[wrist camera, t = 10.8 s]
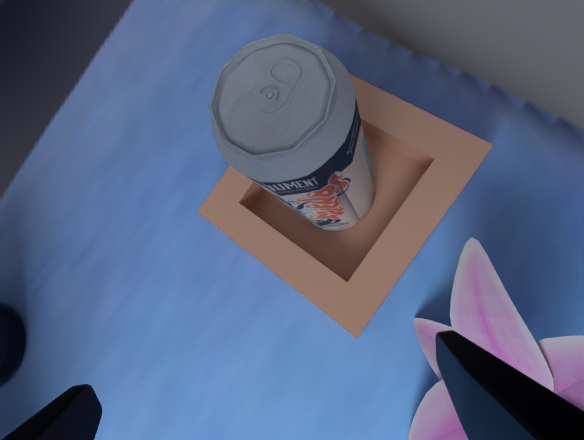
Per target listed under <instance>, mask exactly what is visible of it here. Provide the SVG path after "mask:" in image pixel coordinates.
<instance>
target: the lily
mask: <svg viewBox="0 0 584 440" xmlns="http://www.w3.org/2000/svg"><path fill="white" fill-rule="evenodd" d="M450 319H451V326H452V327H449V326H447V325H444V324H441V323H438V322H435V321H431V320H427V319H423V318H414V319H413V320H414V324H413V327H414V330H415V333H416V336H417V339H418V341H419V343H420V345H421V348H422V350H423V352H424V354H425V356H426V358H427V360H428V362H429V364H430V366H431V367H432V369H433V371H434V372H435V374H436V375H437V377H438V379H439V380H440V381H439V382H437V383H436V384H435V385H434V386H433V387H432V388H431V389H430V390H429V391H428V392H427V393H426V395H425V396H424V398H423V400H422V401H421V403H420V405H419V407H418V409H417V411H416V413H415V416H414V418H413V421H412V424H411V427H410V430H409V436H408V440H468V438H467V436H466V434H465V432H464V430H463V427H462V425H461V423H460V420H459V418H458V415H457V413H456V410H455V408H454V405H453V403H452V400H451V398H450V395H449V393H448V390H447V388H446V385H445V383H444V380H443V378H442V375H441V373H440V370H439V368H438V365H437V361H436V341H435V336H436V333H437V332H440V331H447V330H453V331H456V332H457V333H459V334H461V335H462V336H464V337H465V338H467V339H469V340H470V341H472V342H473V343H475V344H477V345H478V346H480V347H482V348H483V349H485V350H486V351H488V352H490V353H491V354H493V355H494V356H496V357H498V358H499V359H501V360H502V361H504V362H506V363H507V364H509V365H511V366H512V367H514V368H515V369H517V370H519V371H520V372H522V373H523V374H525V375H527V376H528V377H530V378H531V379H533V380H535V381H536V382H538V383H540V384H541V385H543V386H544V387H546V388H548V389H549V390H551V391H552V392H554V393H556V394H557V395H559V396H561V397H562V398H564V399H565V400H567V401H569V402H570V403H572V404H573V405H575V406H577V407H578V408H580V409H581V410H583V411H584V335H580V336H562V337H554V338H546V339H542V340H539V341H535V340H534V338H533V336H532V335H531V333H530V331H529V329H528V328H527V326H526V324H525V323H524V321H523V319H522V318H521V316H520V314H519V313H518V311H517V309H516V308H515V306H514V304H513V302H512V301H511V299H510V297H509V295H508V294H507V292H506V290H505V288H504V286H503V284H502V282H501V280H500V278H499V276H498V274H497V272H496V271H495V269H494V267H493V265H492V263H491V261H490V259H489V257H488V255H487V254H486V252H485V250H484V249H483V247H482V246H481V244H480V243H479V241H478V240H476V239H474V238H472V237H471V238H470V239H469V240H468V241H467V242H466V243H465V246H464V248H463V251H462V253H461V255H460V259H459V262H458V266H457V270H456V274H455V278H454V283H453V289H452V294H451V305H450Z"/></svg>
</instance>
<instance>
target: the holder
mask: <svg viewBox="0 0 584 440" xmlns="http://www.w3.org/2000/svg"><path fill="white" fill-rule="evenodd" d="M348 74H349V73H348ZM349 76H350V79H351V81H352V83H353V86H354V91H355V96H356V100H357V105H358V109H359V114H360V118H361V123H362V128H363V132H364V137H365V141H366V146H367V150H368V155H369V160H370V164H371V169H372V173H373V178H374V182H375V198H374V202H373V205H372V207H371V209H370V211H369V212H368V214H367V215H366V216H365V217H364V218H363V219H362V220H361V221H360V222H359V223H357V224H356V225H354V226H353V227H351V228H348V229H345V230H339V231H327V230H323V229H321V228H318V227H316V226H314V225H313V224H312V223H310V222H309V221H307V220H306V219H305V218H304V217H302V216H301V215H300V214H298V213H297V212H296V211H294V210H293V209H291V208H290V207H289V206H287V205H286V204H284V203H283V202H282V201H280V200H279V199H278V198H276V197H275V196H273V195H272V194H271V193H269V192H268V191H266V190H265V189H264V188H262V187H261V186H260V185H258V184H257V183H255V182H254V181H253V180H251V179H250V178H248V177H247V176H245V175H243V174H241V173H240V172H238V171H237V170H236V169H234V168H233V167H232V166H229V167H228V168H227V170H226V171H225V173H224V174H223V176H222V177H221V179H220V180H219V181H218V183H217V184H216V186H215V187H214V189H213V190H212V192H211V193H210V194H209V196H208V197H207V199H206V200H205V202H204V203H203V205H202V206H201V207H200V209H199V210H198V213H199V214H201V215H202V216H203V217H204V218H206V219H207V220H208V221H209V222H211V223H212V224H213V225H214V226H216V227H217V228H218V229H219V230H221V231H222V232H223V233H225V234H226V235H227V236H228V237H230V238H231V239H232V240H233V241H235V242H236V243H237V244H238V245H240V246H241V247H242V248H244V249H245V250H246V251H247V252H249V253H250V254H251V255H252V256H254V257H255V258H256V259H257V260H259V261H260V262H261V263H262V264H264V265H265V266H266V267H268V268H269V269H270V270H271V271H273V272H274V273H275V274H276V275H278V276H279V277H280V278H281V279H283V280H284V281H285V282H286V283H288V284H289V285H290V286H292V287H293V288H294V289H295V290H297V291H298V292H299V293H300V294H302V295H303V296H304V297H305V298H307V299H308V300H309V301H310V302H312V303H313V304H314V305H316V306H317V307H318V308H319V309H321V310H322V311H323V312H324V313H326V314H327V315H328V316H329V317H331V318H332V319H333V320H334V321H336V322H337V323H338V324H340V325H341V326H342V327H343V328H345V329H346V330H347V331H348V332H350V333H351V334H352V335H353V336H355V337H356V338H357V337H358V336H359V335H360V333H361V332H362V331H363V329H364V328H365V326H366V325H367V324H368V322H369V321H370V319H371V318H372V317H373V315H374V314H375V312H376V311H377V310H378V308H379V307H380V305H381V304H382V302H383V301H384V300H385V298H386V297H387V295H388V294H389V293H390V291H391V290H392V288H393V287H394V286H395V284H396V283H397V281H398V280H399V278H400V277H401V276H402V274H403V273H404V271H405V270H406V269H407V267H408V266H409V264H410V263H411V262H412V260H413V259H414V257H415V256H416V254H417V253H418V252H419V250H420V249H421V247H422V246H423V245H424V243H425V242H426V240H427V239H428V238H429V236H430V235H431V233H432V232H433V231H434V229H435V228H436V226H437V225H438V223H439V222H440V221H441V219H442V218H443V216H444V215H445V214H446V212H447V211H448V209H449V208H450V207H451V205H452V204H453V202H454V201H455V199H456V198H457V197H458V195H459V194H460V192H461V191H462V190H463V188H464V187H465V185H466V184H467V183H468V181H469V180H470V178H471V177H472V175H473V174H474V173H475V171H476V170H477V168H478V167H479V166H480V164H481V163H482V161H483V160H484V158H485V157H486V156H487V154H488V153H489V151H490V150H491V148H492V147H493V146H494V145H493V144H491V143H489V142H487V141H485V140H483V139H481V138H479V137H477V136H475V135H473V134H471V133H469V132H467V131H464V130H462V129H460V128H458V127H456V126H454V125H452V124H450V123H448V122H446V121H444V120H442V119H440V118H438V117H436V116H434V115H432V114H430V113H428V112H426V111H424V110H422V109H420V108H418V107H416V106H414V105H412V104H410V103H408V102H406V101H404V100H402V99H400V98H398V97H396V96H394V95H391V94H389V93H387V92H385V91H383V90H381V89H379V88H377V87H375V86H373V85H371V84H369V83H367V82H365V81H363V80H361V79H359V78H357V77H355V76H353V75H351V74H349Z"/></svg>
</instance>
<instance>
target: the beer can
mask: <svg viewBox="0 0 584 440" xmlns="http://www.w3.org/2000/svg"><path fill="white" fill-rule="evenodd" d="M209 109H210V112H211V116H212V126H213V134H214V137H215V140H216V143H217V146H218V149H219V151H220V153H221V154H222V156H223V157H224V158H225V159H226V161H227V162H228V164H229V165H230V166H232V167H233V168H234V169H236V170H237V171H238V172H240V173H241V174H243V175H245V176H247V177H248V178H250V179H251V180H253V181H254V182H255V183H257V184H258V185H260V186H261V187H262V188H264V189H265V190H266V191H268V192H269V193H271V194H272V195H273V196H275V197H276V198H278V199H279V200H280V201H282V202H283V203H284V204H286V205H287V206H289V207H290V208H291V209H293V210H294V211H296V212H297V213H298V214H300V215H301V216H302V217H304V218H305V219H306V220H307V221H309V222H310V223H312V224H313V225H314V226H316V227H318V228H321V229H323V230H327V231H339V230H345V229H348V228H351V227H353V226H354V225H356V224H357V223H359V222H360V221H361V220H362V219H363V218H364V217H365V216H366V215H367V214H368V212H369V211H370V209H371V207H372V205H373V202H374V198H375V182H374V178H373V173H372V169H371V164H370V160H369V155H368V150H367V146H366V141H365V137H364V132H363V128H362V123H361V118H360V114H359V109H358V105H357V100H356V96H355V91H354V86H353V83H352V81H351V79H350V76H349V74H348V72H347V69H346V68H345V66H344V65H343V64H342V63H341V62H340V61H339V60H338V58H337V57H336V56H335V55H333V54H332V53H331V52H330V51H328V50H326V49H324V48H322V47H320V46H319V45H316V44H314V43H311V42H309V41H306V40H303V39H300V38H298V37H295V36H292V35H290V34H287V33H283V34H279V35H276V36H272V37H268V38H264V39H261V40H257V41H253V42H250V43H247V44H246V45H245V46H244V47H243V48H242V49H241V50H240V51H239V52H238V53H237V54H236V55H235V56H234V57H233V58H232V59H231V60H230V61H229V62H228V63H227V64H226V65H225V66H224V67H223V68H222V69H221V70H220V71H219V74H218V77H217V81H216V84H215V88H214V91H213V95H212V99H211V102H210V106H209Z"/></svg>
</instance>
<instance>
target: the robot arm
mask: <svg viewBox="0 0 584 440" xmlns="http://www.w3.org/2000/svg"><path fill="white" fill-rule="evenodd" d="M435 341H436V361H437V365H438V368H439V370H440V373H441V375H442V378H443V380H444V383H445V385H446V388H447V390H448V393H449V395H450V398H451V400H452V403H453V405H454V408H455V410H456V413H457V415H458V418H459V420H460V423H461V425H462V427H463V430H464V432H465V434H466V436H467V438H468V440H584V411H583V410H581V409H580V408H578V407H577V406H575V405H573V404H572V403H570V402H569V401H567V400H565V399H564V398H562V397H561V396H559V395H557V394H556V393H554V392H552V391H551V390H549V389H548V388H546V387H544V386H543V385H541V384H540V383H538V382H536V381H535V380H533V379H531V378H530V377H528V376H527V375H525V374H523V373H522V372H520V371H519V370H517V369H515V368H514V367H512V366H511V365H509V364H507V363H506V362H504V361H502V360H501V359H499V358H498V357H496V356H494V355H493V354H491V353H490V352H488V351H486V350H485V349H483V348H482V347H480V346H478V345H477V344H475V343H473V342H472V341H470V340H469V339H467V338H465V337H464V336H462V335H461V334H459V333H457V332H456V331H453V330H447V331H440V332H437V333H436V336H435ZM101 416H102V406H101V404H100V402H99V400H98V398H97V396H96V394H95V392H94V390H93V388H92V386H90V385H89V384H83V385H76V386H73V387H71V388H69V389H68V390H67V391H65V392H64V393H63V394H61V395H60V396H59V397H57V398H56V399H55V400H53V401H52V402H51V403H49V404H48V405H47V406H45V407H44V408H43V409H42V410H40V411H39V412H38V413H36V414H35V415H34V416H32V417H31V418H30V419H28V420H27V421H26V422H24V423H23V424H22V425H20V426H19V427H18V428H16V429H15V430H14V431H13V432H11V433H10V434H9V435H7V436H6V437H5V438H3V439H2V440H94V438H95V435H96V432H97V429H98V426H99V423H100V420H101Z"/></svg>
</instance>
